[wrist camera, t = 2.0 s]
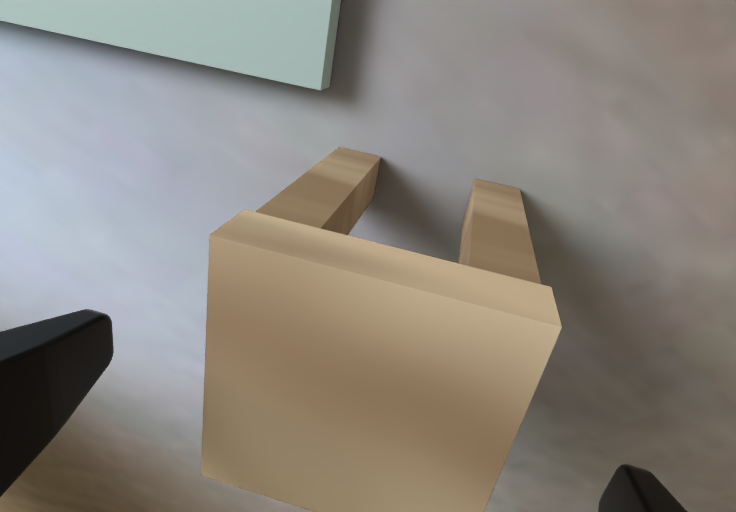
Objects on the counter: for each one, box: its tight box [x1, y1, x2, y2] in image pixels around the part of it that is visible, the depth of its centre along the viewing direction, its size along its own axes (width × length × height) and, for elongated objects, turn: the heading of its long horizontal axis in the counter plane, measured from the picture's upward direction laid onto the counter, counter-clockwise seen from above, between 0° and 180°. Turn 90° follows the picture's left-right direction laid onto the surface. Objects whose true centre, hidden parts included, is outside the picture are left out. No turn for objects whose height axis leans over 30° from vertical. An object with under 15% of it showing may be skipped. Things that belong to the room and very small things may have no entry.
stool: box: [201, 147, 562, 512], centre depth 11 cm, size 5×5×7 cm
